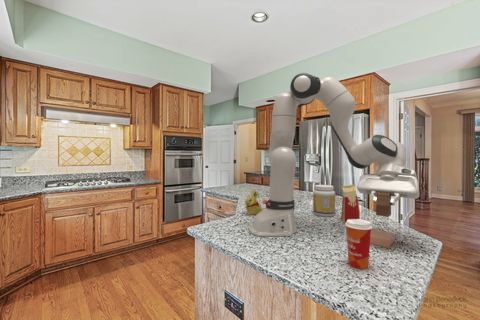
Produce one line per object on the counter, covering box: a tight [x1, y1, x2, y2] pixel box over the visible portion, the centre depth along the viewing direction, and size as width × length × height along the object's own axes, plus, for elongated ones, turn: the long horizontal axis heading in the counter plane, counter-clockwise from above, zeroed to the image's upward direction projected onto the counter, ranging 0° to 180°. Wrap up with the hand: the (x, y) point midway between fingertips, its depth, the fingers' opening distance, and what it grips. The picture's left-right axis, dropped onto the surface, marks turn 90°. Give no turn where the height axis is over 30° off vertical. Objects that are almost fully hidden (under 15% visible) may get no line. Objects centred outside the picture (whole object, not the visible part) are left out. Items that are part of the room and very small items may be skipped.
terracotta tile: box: [370, 228, 395, 249], centre depth 96 cm, size 10×10×3 cm
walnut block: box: [375, 192, 392, 218], centre depth 87 cm, size 4×4×8 cm
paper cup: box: [344, 218, 373, 270], centre depth 75 cm, size 8×8×14 cm
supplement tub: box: [312, 184, 336, 218], centre depth 138 cm, size 12×12×17 cm
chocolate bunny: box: [244, 188, 263, 216], centre depth 138 cm, size 7×11×15 cm, turn 112°
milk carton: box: [340, 183, 361, 224], centre depth 124 cm, size 9×9×20 cm
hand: (383, 203), depth 87 cm, fingers closed on walnut block, 4 cm apart
